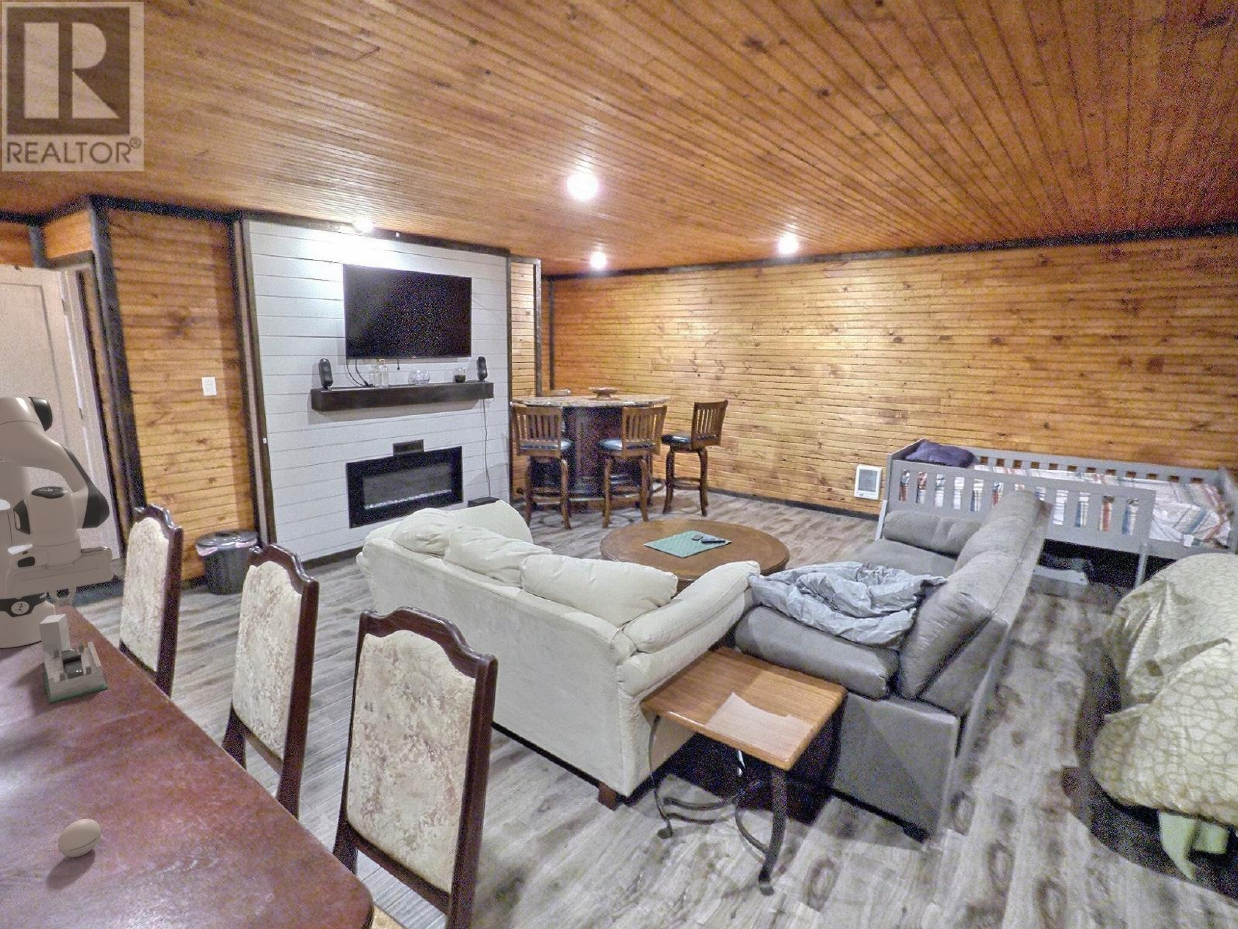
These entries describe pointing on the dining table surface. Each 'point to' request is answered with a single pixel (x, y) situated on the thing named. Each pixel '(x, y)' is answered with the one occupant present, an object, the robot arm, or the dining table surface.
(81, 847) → the beige oval egg shape
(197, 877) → the dining table surface
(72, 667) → the strap
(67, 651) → the strap
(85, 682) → the fuse holder
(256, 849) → the dining table surface
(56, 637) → the skincare box
